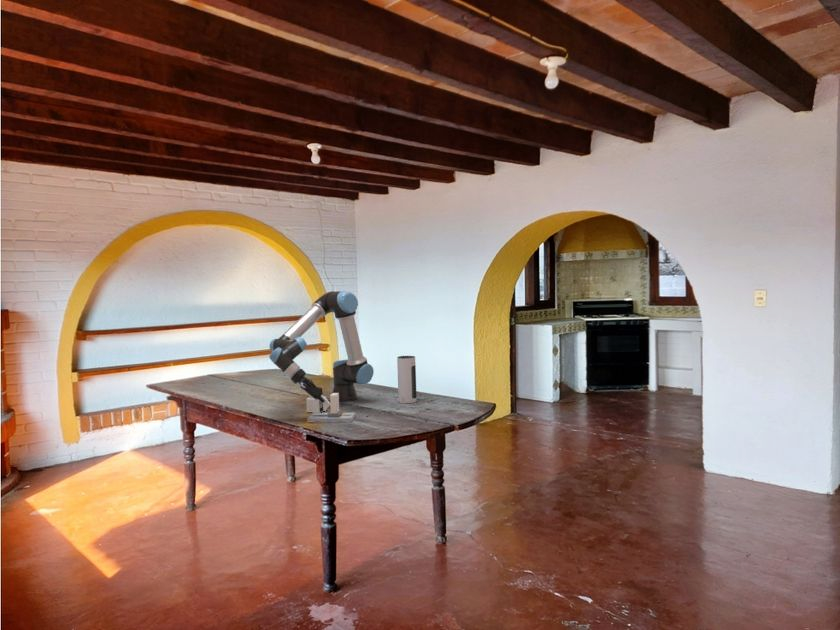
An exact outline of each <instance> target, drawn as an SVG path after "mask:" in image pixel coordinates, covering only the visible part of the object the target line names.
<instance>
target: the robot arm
mask: <svg viewBox="0 0 840 630" xmlns="http://www.w3.org/2000/svg"><path fill="white" fill-rule="evenodd" d="M358 306H359V301H358V298H357V297H356V294H354V293H353V292H351V291H345V290H340V291H339V290H338V291H335V290H334V291H329V292H326V293H324V294H322V295H321V296H319V297H318V298H317V299H316V300H315V301H314V302H313V303H312V304H311V308H309V309H308V310H307V311H306V312H305V313H304V314H303V315H302V316H301V317H300V318H298V320H297V321H295V322H294V323H293V324H292V325H291V326H290V327H289V328H288V329H287V330H286V331H284V333H283V334H281V336H280V337H278V338H273V339H271V341H270V343H269V350H270V351H271V353H270V354H269V359H270V361H271V362H272V363H273V364H274V365H275V366H276V367H278V369H279V370H280V371H281V372H282V373H283V374H284V376H286V377H287V378H289V379H290V381H291V382H292V383H294V384H299V385H300V388H301V390H303V391H305V392H306V393H307V394H308V395H309V396H310V395H311V396H312V397H313V398H314V399H316V400H317V399H318V400H319V401H320V402H321V403H322V404H323V405H324V406H325V407H326V408H327V409H328V408H329V407H330V400H328V399H327V397H326V396H324V392H323V391H322V392H321V391H320V390H319V389H318V388H317V387H318V386H317V385H316V384H315V383H314V382H313V380H312V379H309V378H307V377H306V375H307V373H306V371H305V370H304V369H303V368H301V367H300V365H299V364H298V363H296V361H294V360H295V358H297V357H298V356H299V355H301V353H303V351H304V350H306V349H307V347H308V344H307V342H306V340H305V339H304V338H303V337H302V336H303V335H304V334H306V332H307V331H308V330H309V329H310V328H311V327H312V326H313V325H314V324H315V323H317V322H318V321H319V320H320V318H324V317H326V316H327V314H330V313H334V318H335V319H337V320H338V322H339V327H340V330H341V335H342V338H343V342H344V346H345V352H346V355H347V356H346V357H347V359H340V360H335V361H334V362H333V364H332V375H333V387H332V391H331V394H332V393H339V401H344V402H352V401H356V400H357V399H358V393H357V390H356V388H355V384H358V385H367V384H369V383H370V382H371V381H372V378H373V376H374V367H373V366H372V365H371V364H370V363H368V359H367V357H365V356H364V353H363V349H362V344H361V342H360V337H359V332H358V327H357V323H356V320H355V319H356V318H355V316H356V314H357V311H356V310H357V309H358ZM322 394H323V395H322ZM325 397H326V398H325Z"/></svg>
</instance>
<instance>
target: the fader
mask: <svg viewBox="0 0 840 630" xmlns="http://www.w3.org/2000/svg"><path fill="white" fill-rule="evenodd" d="M329 399H330V400H329V402H330V406H329V407H330V410H329V412H327V413H328V414H327V417H340V415H341V414H342V413H344V412H343V411H344V410H343V409H340V402H339V393H332V392H331V394H329Z"/></svg>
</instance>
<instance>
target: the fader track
mask: <svg viewBox="0 0 840 630" xmlns="http://www.w3.org/2000/svg"><path fill="white" fill-rule="evenodd" d="M328 413H329V412H322V413H310V415H309V416H308V417H307V418H306V422H307V421H344V422H343V423H346V422H345V421H348V422H347V423H352V422H351V421H354V419H355V418H356V417H357V415H356V412H343V413H342V414H341V415H340V417H327V414H328ZM355 416H356V417H355ZM354 417H355V418H354Z"/></svg>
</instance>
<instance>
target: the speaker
mask: <svg viewBox="0 0 840 630" xmlns="http://www.w3.org/2000/svg"><path fill="white" fill-rule="evenodd" d="M396 359H397V360H396V362H397V364H396V365H397V367H396V368H397V391H398V392H397V394H398V396H397V397H398V403H399V404H402V403H404V404H405V405H406V403H410V404H415V403H417V401H418V400H417V372H416V367H417V366H416V365H417V364H416V356H414V355H400V356H397V358H396Z"/></svg>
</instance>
